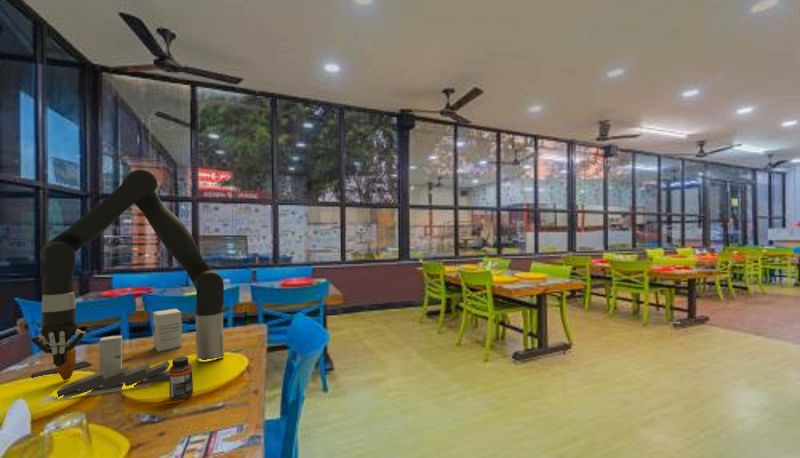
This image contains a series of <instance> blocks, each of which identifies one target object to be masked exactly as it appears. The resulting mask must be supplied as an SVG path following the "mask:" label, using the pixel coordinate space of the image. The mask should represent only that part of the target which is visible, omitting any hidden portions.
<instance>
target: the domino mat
mask: <svg viewBox="0 0 800 458" xmlns="http://www.w3.org/2000/svg"><path fill="white" fill-rule="evenodd" d="M123 384H124V382H123V383H121V384H119V385H116V386H114V387H111V388H109V389H106V390H105V389H104V387H103V385H102V386H99V387H97V388H94V389H93V390H92V391H91V392H89V393H88V394H86V395H85V396H84V397H88V396H95V395H101V394H108V393H114V392H119V391H120V392H121V391H123V390H122V386H123ZM150 385H152V383H146V379H144V380H142V381H140V382H138V383H137V384H136V385H134V389H139V388H140V389H141V388H146V387H150ZM79 394H81V392H80V389H78V390H75V391H72V392H70V393H67V394H65V395H64V396H63V398H60V399H63V400H68V399H67V398H69V397H72V396H76V395H79ZM46 396H47V395H46ZM46 396H44V397H43V398H42V399H41V400H40V401H38V404H42V403H50V402H55V401H60V400H59V399H58V398H57V397H56V398H55V396H54V397H53V396H47V398H46Z"/></svg>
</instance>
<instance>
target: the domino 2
mask: <svg viewBox="0 0 800 458" xmlns="http://www.w3.org/2000/svg"><path fill="white" fill-rule="evenodd" d="M150 368H151V365H150V363H146V364H144V365H141V366H138V367H135V368H133V369H131V370H130V371H129V372H128V374H127V375H126V376H125V377H122V378H120V379H117V380H115V381H112V382H110V383H107V384H105V385H103V387H104V389H105V390H106V389H109V388H111V387H114V386H116V385H119V384H121V383H123V382H126V381H128V380H131V379H133V378H136V377H138V376H141V375H143V374H146V373H147V372H148V371H149V369H150Z"/></svg>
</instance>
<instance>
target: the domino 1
mask: <svg viewBox="0 0 800 458" xmlns="http://www.w3.org/2000/svg"><path fill="white" fill-rule="evenodd" d="M129 371H131V370H130V368H129V366H125V367H122V369H120V370H117V371H115V372H112V373H109V374H108V376H107V377H106V378H105V379H103V380H101V381H98V382H96V383H93V384H90V385H88V386H85V387H83V388H80V392H81V393H84V392H87V391H89V390H92V389H94V388H97V387H99V386H102V385H105V384H107V383H110V382H112V381H115V380H117V379H120V378H122V377H125V376H126V375H127V374H128V372H129Z"/></svg>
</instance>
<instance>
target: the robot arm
mask: <svg viewBox="0 0 800 458" xmlns="http://www.w3.org/2000/svg"><path fill="white" fill-rule="evenodd" d="M121 182H122V183H121V184H120V185H119V186H118V187H117V189H116V190H114V192H112V193H111V194H110V195H109V196H108V197H106V198H105V199H104V200H103V201H101V202H100V203H98V204H97V205H95V206H94V207H93V208H91V209H90V210H89V211H87V212H86V213H84V214H83V215H82V216H80V218H79V219H77V220H76V221H75V222H73V223H72V224H71V225H70V226H68V228H67V229H66V230H64V231H63V232H61V233H60V234H58V235H57V236H55V237H54V238H52V239H51V240H49V241H48V242H47V243H46V244H44V246H42V248H41V249H40V252H39V257H40V259H41V261H43V263H44V275H43V278H42V284H41V285H42V299H41V322H42V323H41V326H42V328H41V330H40V333H39V334H38V335H36V336H34V337H32V338H31V339H30V341H31V343H33V344H34V345H35V346H37V348H39V349H40V350H42V352H43V353H45V354H51V355H52V358H53V359H52V361H53V363H52V364H53V366H55V368H58V366H63V365H64V364H65V363H66V362H67V352H68V351H70V350H72V349H73V348H75V349H76V346H77V345H79V343H81V341H82V340H83V339H84V337H85V336H86V335H87V331H86V330H84V331H82V330H80V329H79V326H78V325H77V309H76V306H77V302H76V296H75V281H74V274H75V266H76V252H78V251H79V250H80V249H81V248H82V247H83V246H85V245H87V244H89V243H91V242H93V241H94V240H95V239H96V238H97V237H99V236H100V235H101V234H102V233H103V232H104V231H105V230H107V229H108V227H110V226H111V225H112V224H113V223H114V222H115V221H116V220H117V219H118V218H119V217H120V216H121V215H122V214H124V213H125V211H127V210H128V209H129V208H130V207H131V206H133V205H135V206H136V207H137V208H138V210H140V212H141V213H142V214H143V216H144V217H145V219H146V220H147V222H148V223H149V225H150V226H151V228H152V230H153V231H154V233H155V234H156V235H157V237H158V239H159V240H160V241H161V243H162V244H163V246H164V247H165V248H166V250H167V251H168V252H169V254H170V255H171V256H172V257H173V258H174V259H175V260H176V261H177V262H178V263H179V264H180V265H181V266H182V268H183V269H184V271H185V273H186V274H187V276H188V278H189V279H190V281H191V283H192V284H193V287H194V289H195V290H196V291H195V292H196V306H195V341H196V342H195V343H196V344H195V346H196V348H195V350H196V359H197V358H199V359H202V360H207V359H214V358H219V357H223V356H225V336H224V334H225V332H224V312H223V311H224V302H225V301H224V300H225V298H224V297H225V296H224V295H225V294H224V293H225V292H224V291H225V286H224V285H225V284H224V280H223V278H222V275H221V274H219V273H217V272H216V271H214V270H213V269H212V268H211V266H209V264H208V262H206V261H205V259H204V258H203V256H202V254H201V253H200V250H199V248H198V245H197V242H195V239H194V238H193V235H192V234H191V232H190V231H189V230H188V228H187V227H186V225H185V224H184V223H183V221H182V220H181V219H180V218H179V217H178V216H176V215H175V214H174V213H173V212H172V211H171V210H170V209H168V207H166V205H165V204H164V203H163V202H162V201H161V199H160V197H159V196H158V194H157V193H156V190H157V188H158V180H157V176H156V175H155V174H154V173H153V172H151V171H149V170H146V169H136V170H132V171H130V172H129V173H128V174H126V176H125V177H124V178H123V180H122V181H121ZM73 336H74V340H73V341H72V342H71V343H70V345H69V346H68V344H69V339H70V338H71V337H72V338H73ZM45 339H46V340H45ZM47 341H48V342H49V343H48V342H47Z"/></svg>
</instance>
